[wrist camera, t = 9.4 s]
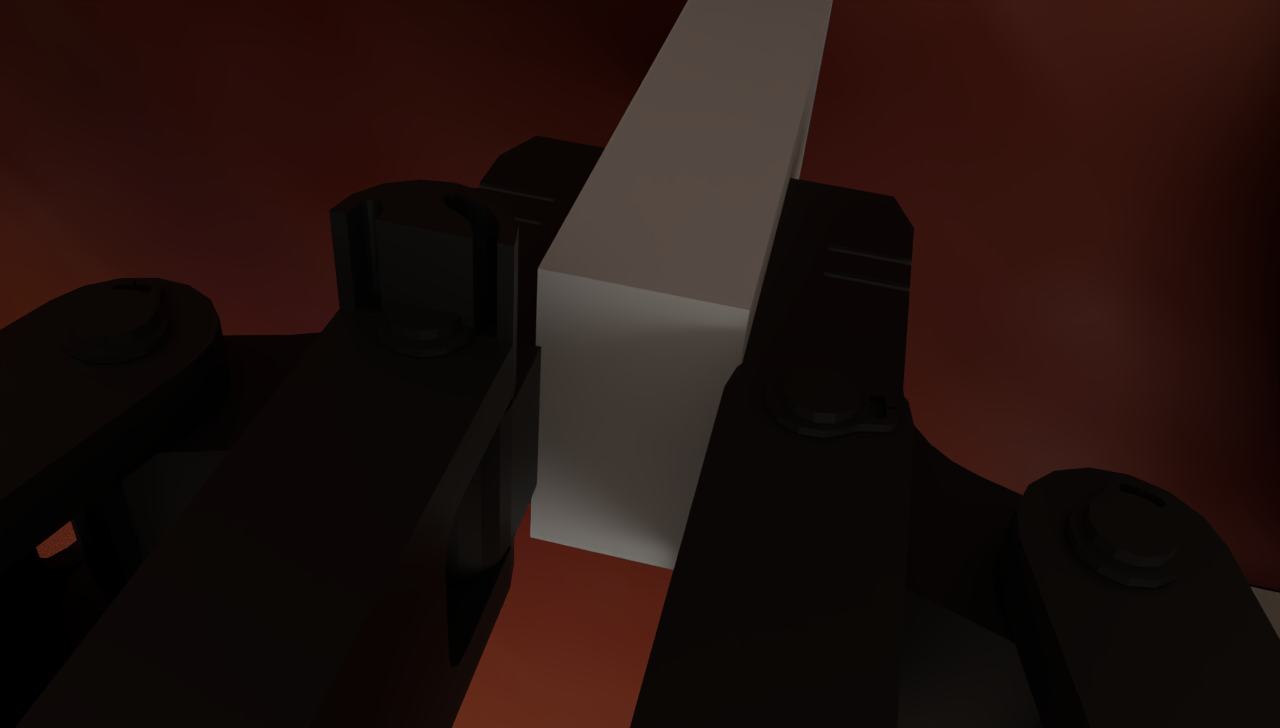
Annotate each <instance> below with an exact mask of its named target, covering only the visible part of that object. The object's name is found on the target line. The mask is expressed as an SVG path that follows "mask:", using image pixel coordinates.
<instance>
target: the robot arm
mask: <svg viewBox="0 0 1280 728" xmlns="http://www.w3.org/2000/svg"><path fill="white" fill-rule="evenodd" d="M832 3H833V0H688V1H687V3H686V5H685V7H684V8H683V10H682V12H681V14H680V16H679V17H678V19H677V21H676V23H675V25H674V26H673V28H672V30H671V32H670V33H669V35H668V37H667V39H666V41H665V42H664V44H663V46H662V48H661V50H660V51H659V53H658V55H657V57H656V58H655V60H654V62H653V64H652V66H651V67H650V69H649V71H648V73H647V75H646V76H645V78H644V80H643V82H642V83H641V85H640V87H639V89H638V91H637V92H636V94H635V96H634V98H633V100H632V101H631V103H630V105H629V107H628V108H627V110H626V112H625V114H624V116H623V117H622V119H621V121H620V123H619V125H618V126H617V128H616V130H615V132H614V133H613V135H612V137H611V139H610V141H609V142H608V144H607V146H606V148H601V147H596V146H590V145H585V144H579V143H574V142H568V141H563V140H557V139H552V138H546V137H541V136H535V137H533V138H531V139H529V140H528V141H526V142H524V143H522V144H520V145H518V146H516V147H514V148H513V149H511V150H509V151H507V152H505V153H503V154H501V155H500V156H499V157H498V158H497V160H496V161H495V162H494V164H493V165H492V167H491V168H490V169H489V171H488V172H487V174H486V175H485V176H484V178H483V179H482V181H481V182H480V187H479V188H476V189H474V188H471V187H467V186H464V185H461V184H458V183H453V182H441V181H429V180H412V181H403V182H394V183H385V184H381V185H378V186H375V187H372V188H369V189H366V190H363V191H360V192H357V193H354V194H352V195H350V196H349V197H347V198H346V199H345V200H343V201H342V202H340V203H339V204H338V205H336V206H335V207H334V208H332V209H331V210H329V212H330V222H331V231H332V240H333V250H334V259H335V268H336V278H337V287H338V296H339V306H340V309H339V310H338V311H337V313H336V314H335V315H334V317H333V318H332V319H331V321H330V322H329V323H328V324H327V326H326V327H325V328H324V330H323V331H322V332H320V333H308V334H296V335H230V336H223V334H222V329H221V324H220V319H219V317H218V314H217V312H216V310H215V308H214V306H213V303H212V301H211V299H209V298H208V297H206V296H205V295H203V294H201V293H200V292H198V291H197V290H195V289H194V288H192V287H191V286H189V285H185V284H181V283H177V282H173V281H168V280H164V279H160V278H120V279H114V280H110V281H106V282H101V283H96V284H91V285H86V286H83V287H80V288H78V289H76V290H73V291H71V292H69V293H67V294H64V295H62V296H60V297H57V298H55V299H53V300H50V301H49V302H47V303H45V304H44V305H42V306H40V307H38V308H37V309H35V310H33V311H32V312H30V313H28V314H27V315H25V316H23V317H21V318H20V319H18V320H16V321H15V322H13V323H11V324H10V325H8V326H6V327H4V328H3V329H1V330H0V728H452V726H453V723H454V721H455V718H456V716H457V714H458V711H459V709H460V706H461V704H462V702H463V699H464V697H465V694H466V692H467V690H468V687H469V685H470V682H471V680H472V678H473V675H474V673H475V670H476V668H477V666H478V663H479V661H480V658H481V656H482V654H483V651H484V649H485V646H486V644H487V642H488V639H489V637H490V634H491V632H492V630H493V627H494V625H495V622H496V620H497V618H498V615H499V613H500V610H501V608H502V606H503V603H504V601H505V598H506V596H507V593H508V591H509V589H510V585H511V579H512V572H513V566H514V536H515V534H516V532H517V529H518V527H519V525H520V522H521V520H522V518H523V516H524V513H525V511H526V509H527V506H528V504H529V502H530V500H531V534H530V537H532V538H537V539H541V540H545V541H550V542H554V543H558V544H563V545H567V546H571V547H576V548H580V549H584V550H589V551H593V552H598V553H602V554H606V555H611V556H615V557H619V558H624V559H628V560H632V561H637V562H641V563H645V564H650V565H654V566H659V567H663V568H667V569H672V570H673V574H672V577H671V581H670V585H669V588H668V592H667V595H666V599H665V603H664V606H663V610H662V613H661V617H660V621H659V624H658V628H657V632H656V635H655V639H654V642H653V646H652V650H651V653H650V657H649V661H648V664H647V668H646V671H645V675H644V679H643V682H642V686H641V689H640V693H639V697H638V700H637V704H636V708H635V711H634V715H633V718H632V722H631V726H630V728H1280V638H1279V637H1278V635H1277V633H1276V631H1275V630H1274V628H1273V626H1272V624H1271V622H1270V621H1269V619H1268V617H1267V615H1266V614H1265V612H1264V610H1263V608H1262V607H1261V605H1260V603H1259V601H1258V599H1257V598H1256V596H1255V594H1254V592H1253V591H1252V589H1251V587H1250V585H1249V583H1248V582H1247V580H1246V578H1245V576H1244V575H1243V573H1242V571H1241V569H1240V568H1239V566H1238V564H1237V562H1236V560H1235V559H1234V557H1233V555H1232V553H1231V552H1230V550H1229V548H1228V546H1227V545H1226V544H1225V543H1224V542H1223V540H1222V539H1221V538H1220V537H1219V535H1218V534H1217V533H1216V532H1215V530H1214V529H1213V528H1212V527H1211V525H1210V524H1209V523H1208V522H1207V521H1206V519H1205V518H1204V517H1203V516H1202V515H1200V514H1199V513H1198V512H1196V511H1195V510H1193V509H1192V508H1191V507H1189V506H1188V505H1186V504H1185V503H1184V502H1182V501H1181V500H1180V499H1178V498H1177V497H1175V496H1174V495H1173V494H1171V493H1170V492H1168V491H1166V490H1164V489H1161V488H1159V487H1157V486H1154V485H1152V484H1150V483H1147V482H1145V481H1143V480H1140V479H1138V478H1136V477H1133V476H1131V475H1128V474H1122V473H1117V472H1111V471H1106V470H1100V469H1095V468H1079V469H1069V470H1058V471H1053V472H1051V473H1050V474H1048V475H1046V476H1044V477H1042V478H1040V479H1038V480H1037V481H1035V482H1033V483H1031V484H1029V485H1028V487H1027V489H1026V491H1025V492H1024V494H1023V495H1021V494H1018V493H1016V492H1014V491H1012V490H1009V489H1007V488H1005V487H1003V486H1001V485H998V484H996V483H994V482H992V481H989V480H987V479H985V478H983V477H981V476H978V475H977V474H975V473H973V472H971V471H969V470H967V469H966V468H964V467H962V466H960V465H958V464H956V463H955V462H953V461H951V460H950V459H949V458H947V457H946V456H945V455H944V454H942V453H941V452H940V451H939V450H937V449H936V448H935V447H933V446H932V445H931V444H930V443H929V442H928V441H927V440H926V438H925V437H924V436H923V435H922V434H921V433H920V431H919V430H918V429H917V428H916V427H915V426H914V423H913V419H912V415H911V410H910V406H909V402H908V401H907V399H906V398H905V397H904V393H903V383H904V368H905V353H906V338H907V324H908V309H909V294H910V292H909V288H910V279H911V266H910V265H911V261H912V249H913V234H914V227H913V226H912V224H911V223H910V221H909V220H908V218H907V216H906V215H905V213H904V212H903V210H902V209H901V207H900V206H899V204H898V202H897V201H896V199H895V198H894V197H893V196H887V195H882V194H876V193H871V192H865V191H860V190H854V189H849V188H843V187H838V186H832V185H827V184H821V183H816V182H810V181H805V180H799V176H800V171H801V166H802V160H803V155H804V150H805V145H806V139H807V134H808V129H809V124H810V118H811V113H812V108H813V103H814V97H815V92H816V87H817V82H818V76H819V71H820V66H821V61H822V55H823V50H824V45H825V40H826V34H827V29H828V24H829V19H830V13H831V8H832ZM69 521H71V523H72V526H73V529H74V532H75V535H76V538H77V540H76V541H75V542H74V543H73V544H71V545H70V546H69V547H68V548H66V549H64V550H62V551H60V552H58V553H56V554H54V555H53V556H51V557H49V558H40V557H39V554H38V552H37V549H36V547H37V546H38V545H39V544H41V543H42V542H43V541H45V540H46V539H47V538H49V537H50V536H51V535H52V534H54V533H55V532H56V531H58V530H59V529H60V528H61V527H63V526H64V525H65V524H67V523H68V522H69Z"/></svg>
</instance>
